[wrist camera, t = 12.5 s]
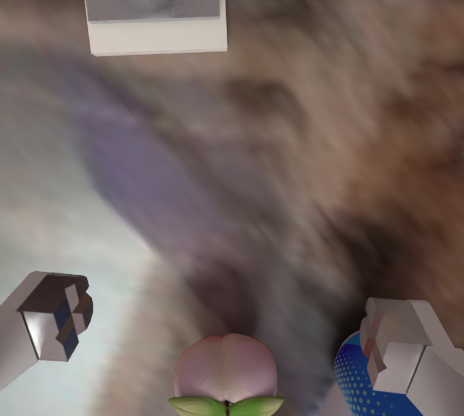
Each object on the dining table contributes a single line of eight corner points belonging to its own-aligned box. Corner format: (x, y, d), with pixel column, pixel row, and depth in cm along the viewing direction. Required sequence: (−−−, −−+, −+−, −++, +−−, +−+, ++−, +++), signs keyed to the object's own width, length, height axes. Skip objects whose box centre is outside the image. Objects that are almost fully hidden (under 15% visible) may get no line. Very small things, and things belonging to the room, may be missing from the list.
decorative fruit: (185, 389, 38) (175, 481, 28) (174, 319, 36) (158, 391, 26) (274, 378, 38) (295, 465, 28) (267, 307, 36) (286, 374, 26)
